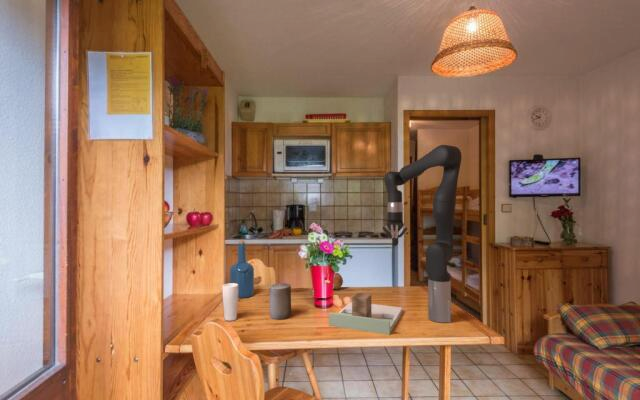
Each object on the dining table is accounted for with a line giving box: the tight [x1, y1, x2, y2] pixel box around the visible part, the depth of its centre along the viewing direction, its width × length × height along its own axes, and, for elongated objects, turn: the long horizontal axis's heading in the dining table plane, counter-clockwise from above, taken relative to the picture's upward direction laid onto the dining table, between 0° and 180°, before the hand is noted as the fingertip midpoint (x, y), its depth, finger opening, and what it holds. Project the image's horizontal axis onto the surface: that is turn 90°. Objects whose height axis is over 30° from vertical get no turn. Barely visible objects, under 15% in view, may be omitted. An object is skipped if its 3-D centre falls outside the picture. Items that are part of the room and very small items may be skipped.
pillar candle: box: [268, 282, 292, 321], centre depth 153 cm, size 10×10×15 cm
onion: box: [333, 272, 344, 291], centre depth 199 cm, size 10×10×10 cm
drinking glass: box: [222, 282, 239, 322], centre depth 149 cm, size 7×7×15 cm
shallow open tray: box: [328, 301, 404, 336], centre depth 149 cm, size 25×30×5 cm
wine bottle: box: [228, 240, 255, 299], centre depth 186 cm, size 14×13×30 cm
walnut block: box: [351, 292, 372, 318], centre depth 142 cm, size 6×8×10 cm
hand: (395, 245), depth 171 cm, fingers closed
